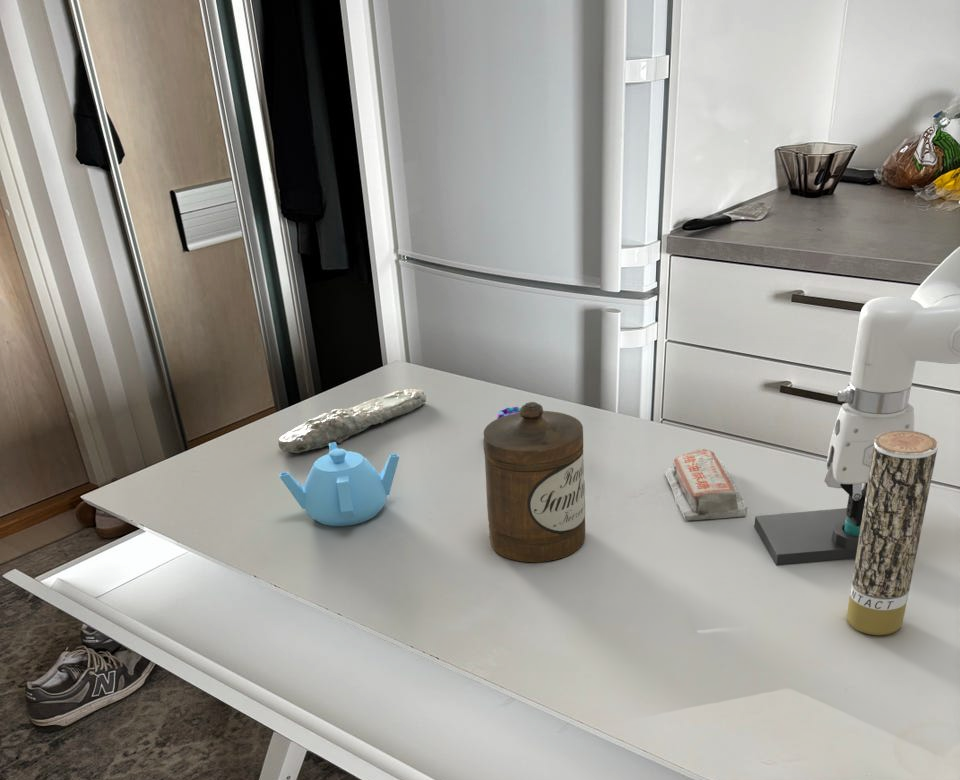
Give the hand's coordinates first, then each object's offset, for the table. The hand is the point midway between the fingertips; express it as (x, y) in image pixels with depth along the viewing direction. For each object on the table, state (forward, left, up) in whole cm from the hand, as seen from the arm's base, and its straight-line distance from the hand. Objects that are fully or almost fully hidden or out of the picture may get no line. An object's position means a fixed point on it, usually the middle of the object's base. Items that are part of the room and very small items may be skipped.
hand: (857, 520), depth 139 cm
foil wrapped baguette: (+77, -64, -5) cm, 100 cm away
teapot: (+76, -27, -5) cm, 81 cm away
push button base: (+5, -3, -5) cm, 8 cm away
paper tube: (+4, +19, -5) cm, 20 cm away
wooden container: (+45, -11, -5) cm, 46 cm away
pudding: (+46, -51, -5) cm, 69 cm away
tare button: (0, 0, -2) cm, 2 cm away
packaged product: (+17, -21, -5) cm, 28 cm away
